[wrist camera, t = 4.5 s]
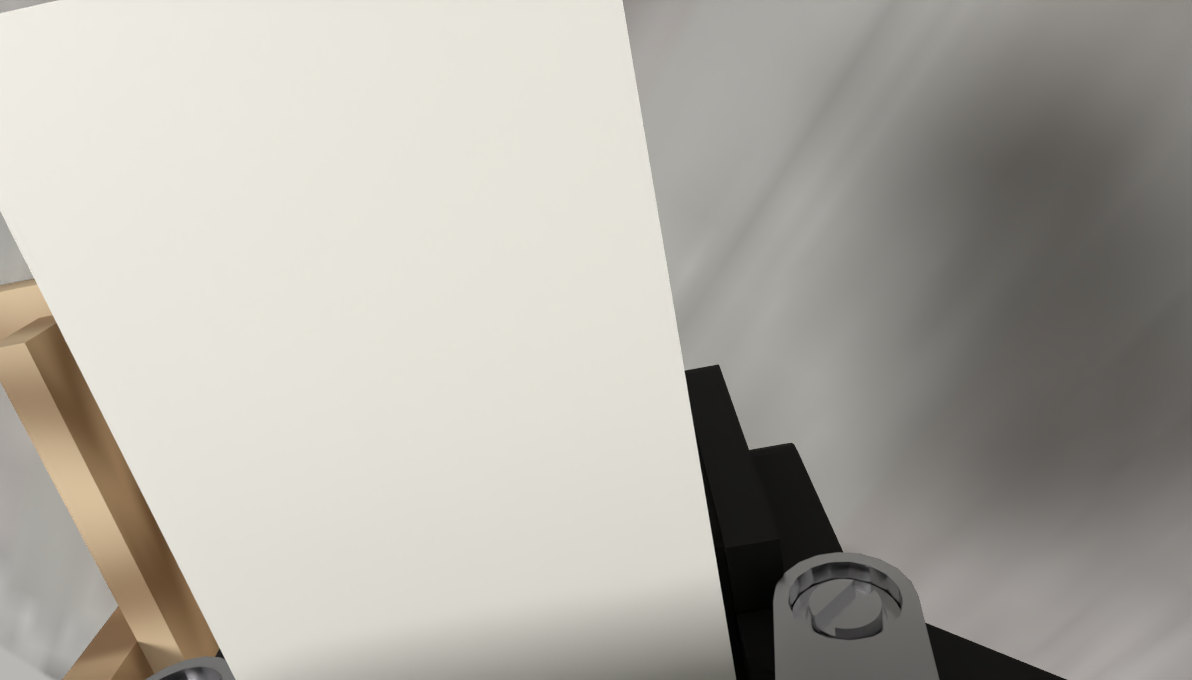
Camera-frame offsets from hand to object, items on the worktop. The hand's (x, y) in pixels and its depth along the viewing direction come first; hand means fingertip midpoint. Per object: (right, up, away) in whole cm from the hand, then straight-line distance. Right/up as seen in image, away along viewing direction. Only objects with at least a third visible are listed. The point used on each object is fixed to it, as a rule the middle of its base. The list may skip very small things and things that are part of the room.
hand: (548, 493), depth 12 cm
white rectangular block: (0, 0, +1) cm, 1 cm away
